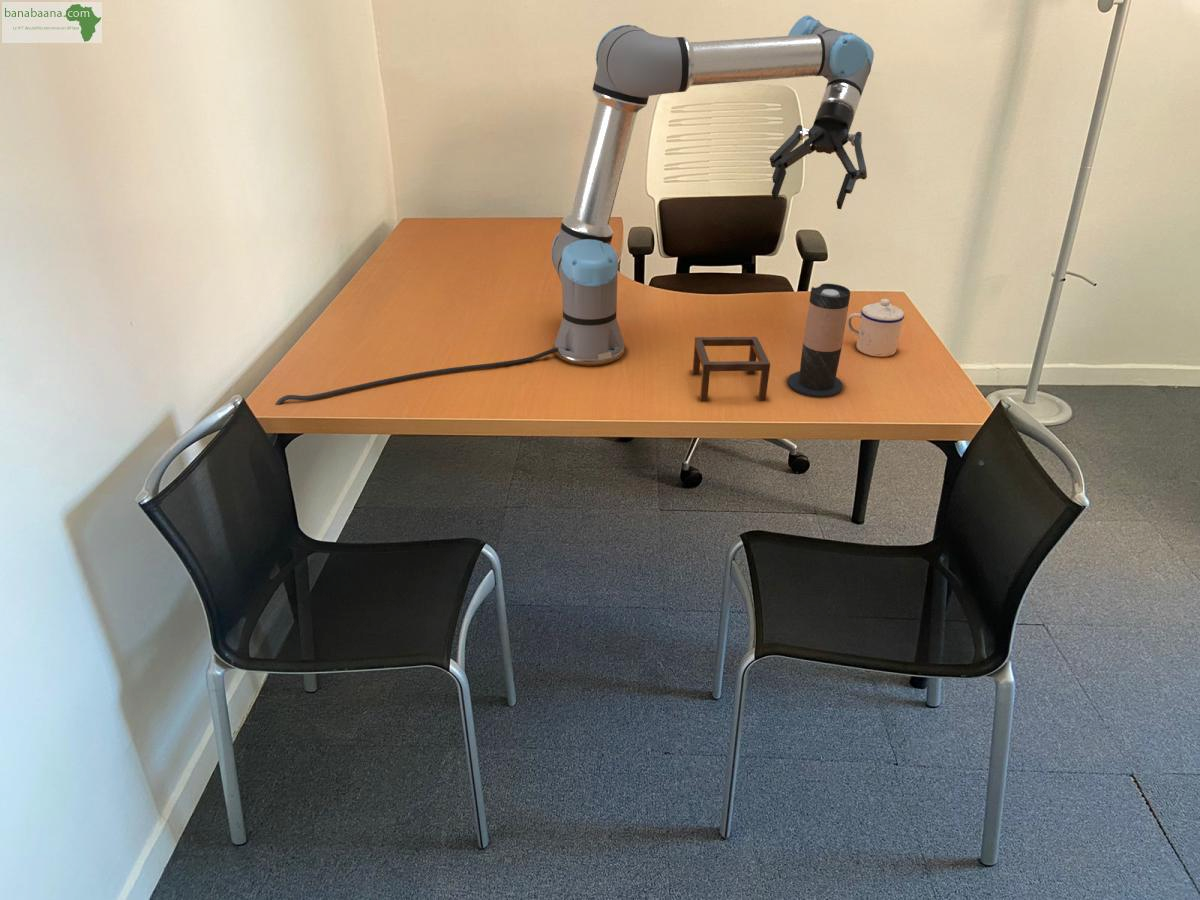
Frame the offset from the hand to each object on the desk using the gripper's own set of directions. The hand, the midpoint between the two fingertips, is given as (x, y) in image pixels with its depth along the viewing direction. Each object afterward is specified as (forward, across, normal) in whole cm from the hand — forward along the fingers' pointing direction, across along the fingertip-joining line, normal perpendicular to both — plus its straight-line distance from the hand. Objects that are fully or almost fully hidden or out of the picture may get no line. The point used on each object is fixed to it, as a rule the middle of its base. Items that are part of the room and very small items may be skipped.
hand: (805, 200), depth 178 cm
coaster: (+34, +11, +12) cm, 38 cm away
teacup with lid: (+17, +17, +29) cm, 38 cm away
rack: (+40, -4, +6) cm, 41 cm away
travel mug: (+34, +11, +12) cm, 37 cm away
